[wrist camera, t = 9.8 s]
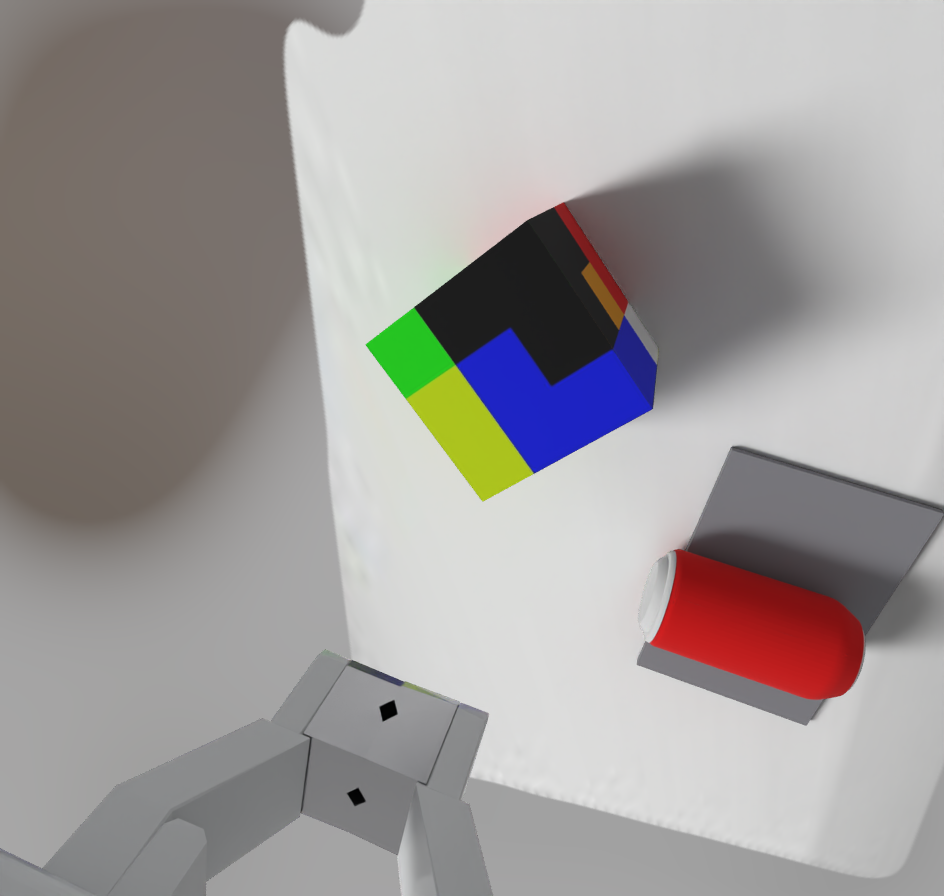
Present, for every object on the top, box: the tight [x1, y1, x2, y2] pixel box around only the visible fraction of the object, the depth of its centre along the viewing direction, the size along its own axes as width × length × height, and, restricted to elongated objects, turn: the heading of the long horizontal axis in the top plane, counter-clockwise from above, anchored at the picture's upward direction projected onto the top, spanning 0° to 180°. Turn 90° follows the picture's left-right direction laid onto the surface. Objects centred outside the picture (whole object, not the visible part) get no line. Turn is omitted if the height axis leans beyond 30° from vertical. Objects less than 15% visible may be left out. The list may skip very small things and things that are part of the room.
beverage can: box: [638, 549, 865, 700], centre depth 40 cm, size 6×6×12 cm
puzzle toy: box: [366, 202, 659, 502], centre depth 35 cm, size 10×10×10 cm
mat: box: [637, 447, 944, 726], centre depth 42 cm, size 18×12×1 cm, turn 168°
